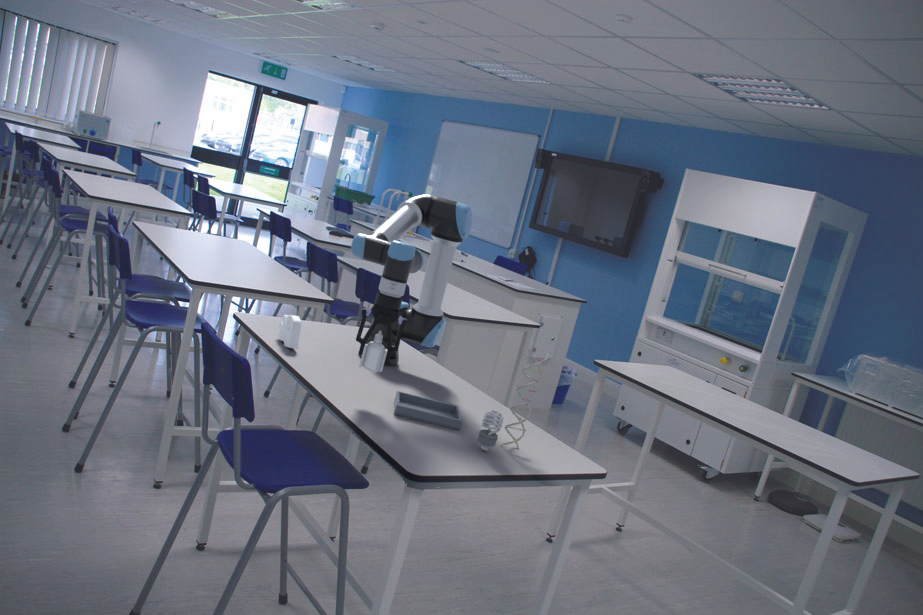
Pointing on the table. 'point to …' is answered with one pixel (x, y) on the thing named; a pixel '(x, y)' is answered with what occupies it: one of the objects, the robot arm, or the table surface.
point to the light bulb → (488, 436)
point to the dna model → (524, 399)
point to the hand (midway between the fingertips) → (370, 368)
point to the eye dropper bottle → (374, 354)
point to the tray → (427, 410)
